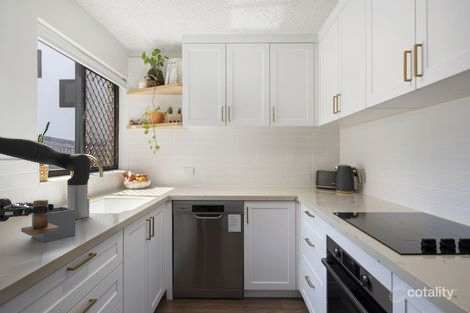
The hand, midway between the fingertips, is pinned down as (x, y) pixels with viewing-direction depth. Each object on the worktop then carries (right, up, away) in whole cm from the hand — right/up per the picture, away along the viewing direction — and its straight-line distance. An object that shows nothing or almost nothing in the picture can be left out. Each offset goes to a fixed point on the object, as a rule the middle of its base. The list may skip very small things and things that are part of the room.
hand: (50, 208), depth 89 cm
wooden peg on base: (-3, -7, -1) cm, 8 cm away
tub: (-9, -14, +15) cm, 22 cm away
